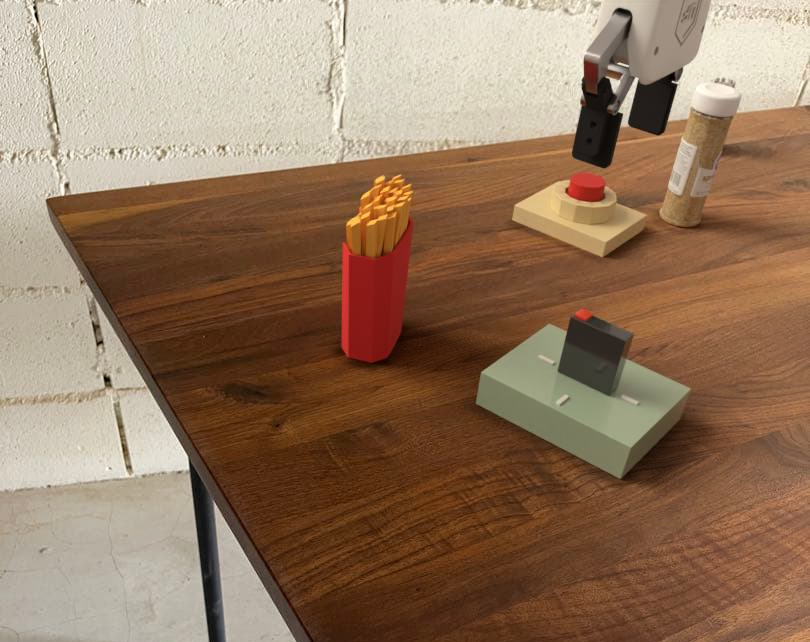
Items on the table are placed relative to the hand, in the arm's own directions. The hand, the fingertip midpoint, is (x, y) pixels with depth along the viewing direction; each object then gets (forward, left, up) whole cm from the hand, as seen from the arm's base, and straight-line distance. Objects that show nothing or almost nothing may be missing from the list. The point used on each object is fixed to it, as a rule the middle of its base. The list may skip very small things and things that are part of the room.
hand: (618, 145), depth 71 cm
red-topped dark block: (-8, +14, -12) cm, 20 cm away
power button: (+9, -15, -12) cm, 21 cm away
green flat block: (-8, +14, -15) cm, 22 cm away
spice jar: (+2, -25, -15) cm, 29 cm away
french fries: (+10, +18, -15) cm, 25 cm away
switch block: (+9, -15, -15) cm, 23 cm away
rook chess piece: (+9, -47, -15) cm, 50 cm away
